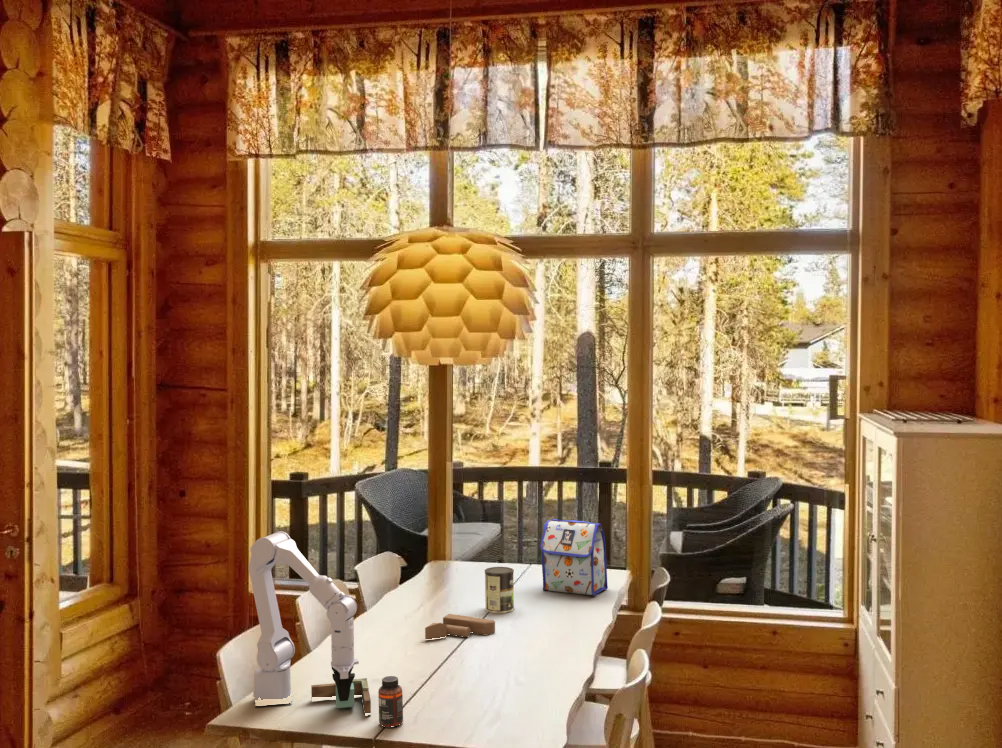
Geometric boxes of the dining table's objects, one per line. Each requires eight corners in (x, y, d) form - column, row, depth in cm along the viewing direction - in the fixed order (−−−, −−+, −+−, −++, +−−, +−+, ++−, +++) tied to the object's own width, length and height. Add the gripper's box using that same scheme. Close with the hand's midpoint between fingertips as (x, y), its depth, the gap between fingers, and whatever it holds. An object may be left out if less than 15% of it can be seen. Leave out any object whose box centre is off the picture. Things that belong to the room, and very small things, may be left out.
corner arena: (312, 721, 226) (311, 703, 225) (311, 700, 239) (311, 683, 239) (370, 715, 229) (370, 697, 229) (366, 695, 242) (366, 678, 242)
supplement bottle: (404, 718, 227) (403, 673, 227) (402, 728, 221) (401, 682, 221) (380, 719, 227) (379, 674, 226) (377, 729, 221) (377, 683, 220)
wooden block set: (446, 610, 303) (495, 616, 295) (446, 627, 303) (495, 633, 295) (422, 624, 287) (473, 631, 280) (422, 642, 287) (473, 649, 280)
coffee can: (514, 605, 326) (513, 566, 325) (513, 613, 316) (513, 573, 315) (485, 605, 326) (485, 566, 326) (484, 613, 316) (484, 573, 315)
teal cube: (354, 706, 232) (354, 689, 232) (336, 708, 231) (336, 690, 231) (353, 699, 236) (353, 682, 236) (335, 701, 235) (335, 684, 235)
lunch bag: (537, 592, 343) (536, 522, 342) (555, 582, 357) (554, 514, 357) (593, 599, 332) (592, 527, 331) (609, 588, 347) (609, 519, 346)
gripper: (360, 652, 227) (360, 706, 227) (356, 634, 241) (357, 685, 242) (331, 654, 225) (332, 708, 226) (329, 636, 240) (330, 687, 240)
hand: (343, 696), depth 234 cm, fingers closed on teal cube, 4 cm apart
